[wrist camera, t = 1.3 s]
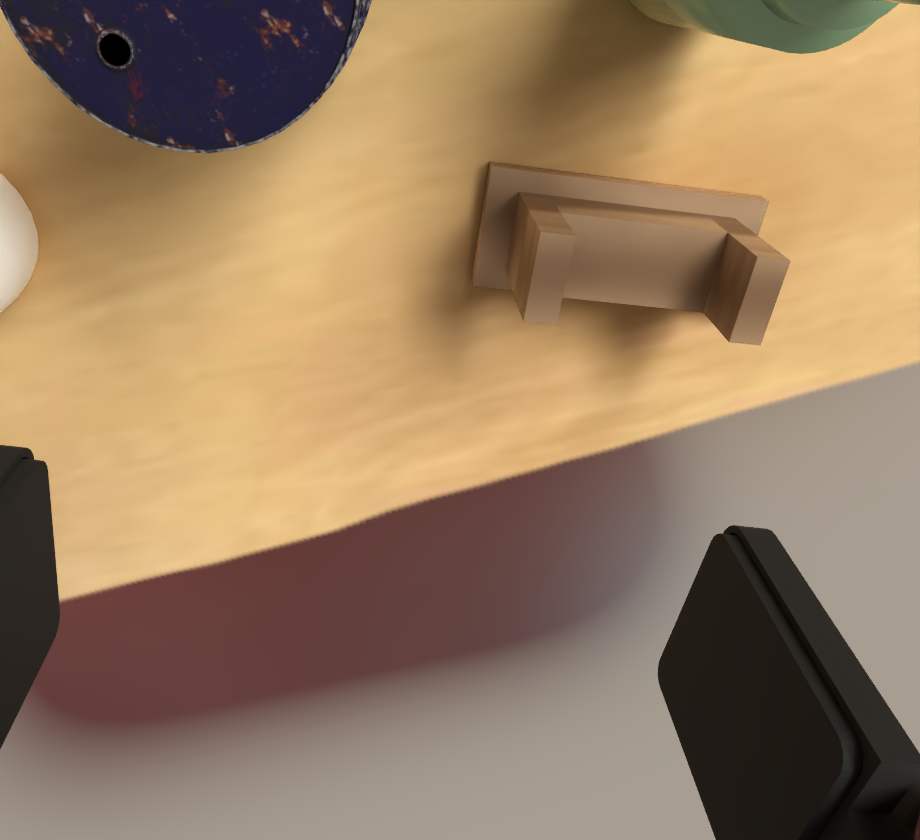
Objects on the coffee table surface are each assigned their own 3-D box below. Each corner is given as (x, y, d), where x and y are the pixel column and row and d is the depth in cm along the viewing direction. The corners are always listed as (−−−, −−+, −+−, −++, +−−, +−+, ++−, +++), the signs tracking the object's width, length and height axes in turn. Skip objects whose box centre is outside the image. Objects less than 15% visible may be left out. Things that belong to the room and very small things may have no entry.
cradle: (489, 161, 38) (508, 203, 32) (761, 196, 40) (831, 241, 34) (471, 279, 41) (486, 339, 35) (725, 306, 43) (783, 368, 37)
